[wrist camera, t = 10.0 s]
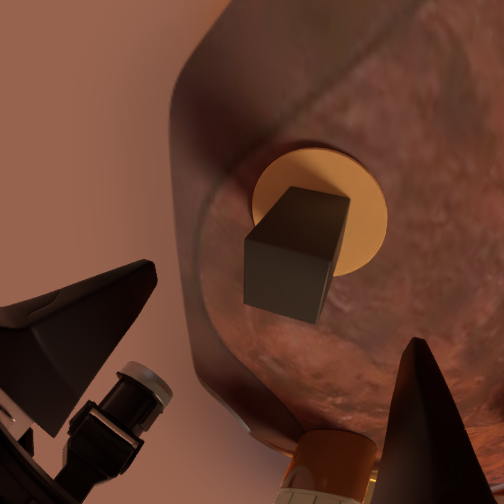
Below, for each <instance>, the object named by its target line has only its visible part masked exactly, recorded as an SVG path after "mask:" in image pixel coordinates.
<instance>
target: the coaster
mask: <svg viewBox="0 0 504 504" xmlns="http://www.w3.org/2000/svg"><path fill="white" fill-rule="evenodd" d="M290 186H294V187H299V188H304V189H309V190H314V191H319V192H324V193H329V194H333V195H338V196H342V197H347V198H350V199H351V201H350V207H349V212H348V217H347V222H346V227H345V232H344V237H343V242H342V247H341V251H340V255H339V258H338V261H337V265H336V268H335V271H334V274H333V276H338V275H343V274H347V273H350V272H352V271H355V270H356V269H358V268H360V267H362V266H363V265H364V264H366V263H367V262H368V261H369V260H370V259H371V258H372V257H373V256H374V255H375V254H376V252H377V251H378V250H379V248H380V246H381V244H382V242H383V240H384V237H385V234H386V229H387V206H386V202H385V198H384V195H383V193H382V190H381V188H380V186H379V185H378V183H377V181H376V180H375V178H374V177H373V176H372V174H371V173H370V172H369V171H368V170H367V169H366V168H365V167H364V166H363V165H361V164H360V163H359V162H357V161H356V160H355V159H353V158H351V157H349V156H348V155H346V154H343V153H341V152H338V151H335V150H331V149H327V148H318V147H315V148H303V149H298V150H295V151H291V152H289V153H287V154H285V155H283V156H281V157H280V158H278V159H277V160H275V161H274V162H273V163H272V164H270V165H269V166H268V167H267V168H266V170H265V171H264V172H263V173H262V175H261V176H260V178H259V180H258V182H257V184H256V187H255V190H254V194H253V201H252V212H253V218H254V222H255V226H256V225H257V224H258V223H259V222H260V220H261V219H262V218H263V217H264V216H265V215H266V213H267V212H268V211H269V210H270V209H271V208H272V207H273V205H274V204H275V203H276V202H277V201H278V200H279V198H280V197H281V196H282V195H283V194H284V193H285V192H286V190H287V189H288V188H289V187H290Z"/></svg>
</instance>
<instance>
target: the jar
mask: <svg viewBox="0 0 504 504" xmlns="http://www.w3.org/2000/svg"><path fill="white" fill-rule="evenodd" d="M376 454H377V446H376V444H375V443H374V442H372V441H371V440H369V439H368V438H366V437H363V436H361V435H358V434H355V433H351V432H346V431H340V430H330V429H320V430H312V431H308V432H306V433H304V434H303V435H302V436H301V437H300V440H299V442H298V445H297V447H296V450H295V452H294V455H293V457H292V460H291V462H290V465H289V467H288V469H287V472H286V474H285V476H284V478H283V481H282V483H281V485H280V487H279V492H278V494H277V495H276V498H275V500H274V502H273V504H363V502H364V499H365V495H366V492H367V489H368V485H369V481H370V478H371V474H372V470H373V466H374V462H375V458H376Z"/></svg>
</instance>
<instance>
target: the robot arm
mask: <svg viewBox="0 0 504 504" xmlns="http://www.w3.org/2000/svg"><path fill="white" fill-rule="evenodd" d="M157 281H158V279H157V274H156V269H155V264H154V263H153V262H152V261H149V260H146V259H142V260H139V261H136V262H133V263H130V264H128V265H125V266H122V267H119V268H116V269H114V270H111V271H108V272H105V273H102V274H99V275H96V276H94V277H91V278H88V279H86V280H83V281H80V282H77V283H75V284H72V285H69V286H66V287H64V288H61V289H58V290H55V291H53V292H50V293H47V294H44V295H41V296H38V297H35V298H32V299H29V300H25V301H22V302H19V303H15V304H12V305H9V306H5V307H0V504H82V503H83V501H84V500H85V498H86V497H87V495H88V494H89V492H90V491H91V489H92V488H93V487H95V486H98V485H100V484H104V483H106V482H108V481H110V480H112V479H114V478H115V477H117V476H118V474H120V475H122V474H123V473H124V472H125V471H126V470H127V469H128V468H129V466H130V465H131V463H132V462H133V460H134V459H135V457H136V455H137V454H138V452H139V450H140V449H141V447H142V446H143V444H144V440H142V439H140V438H139V436H140V435H141V434H142V432H143V431H145V432H146V431H148V430H149V428H150V427H151V425H152V424H153V423H154V421H155V420H156V418H157V417H158V416H159V414H162V413H163V410H162V408H161V406H160V404H159V402H158V399H157V397H156V395H155V393H154V392H153V391H152V390H150V389H148V388H146V387H145V386H143V385H141V384H139V383H137V382H136V381H134V380H132V379H130V378H129V377H127V376H125V375H124V374H122V373H120V372H117V373H116V375H117V377H118V378H119V381H118V382H117V383H116V384H115V386H114V387H113V388H112V389H111V390H110V392H109V393H108V394H107V395H106V396H105V398H104V399H103V400H102V401H101V402H100V404H99V405H96V403H95V402H94V401H93V402H92V401H90V400H88V401H87V402H86V404H85V405H84V406H83V407H82V408H81V409H80V410H79V411H78V412H77V413H76V415H75V416H74V417H73V418H72V419H71V420H70V421H69V425H70V427H69V431H68V432H67V434H68V435H69V436H71V437H70V438H69V439H68V441H67V442H66V444H65V446H64V448H63V468H62V470H61V471H60V472H59V473H58V475H57V476H56V477H55V479H54V480H53V479H52V478H51V477H50V476H49V475H48V474H47V473H46V472H45V471H44V470H43V469H42V468H41V467H40V466H39V465H38V464H37V463H36V462H35V461H34V460H33V459H32V457H33V456H34V444H33V429H32V428H31V427H30V426H31V425H32V424H33V422H35V423H37V424H38V425H39V426H40V427H41V428H42V429H43V430H45V431H46V432H47V433H48V434H49V435H50V436H51V437H53V438H55V437H56V435H57V434H58V432H59V431H60V429H61V428H62V426H63V424H64V423H65V421H66V419H67V418H68V417H69V415H70V413H71V412H72V410H73V409H74V407H75V406H76V404H77V403H78V401H79V400H80V398H81V397H82V395H83V394H84V392H85V391H86V389H87V388H88V386H89V385H90V383H91V382H92V380H93V379H94V377H95V376H96V375H97V373H98V371H99V370H100V369H101V367H102V366H103V364H104V363H105V362H106V360H107V359H108V357H109V356H110V354H111V353H112V352H113V350H114V348H115V347H116V346H117V345H118V343H119V342H120V340H121V339H122V338H123V336H124V335H125V333H126V332H127V331H128V329H129V328H130V327H131V325H132V324H133V322H134V321H135V320H136V318H137V317H138V315H139V314H140V312H141V310H142V309H143V307H144V305H145V304H146V302H147V300H148V299H149V297H150V295H151V294H152V292H153V290H154V289H155V287H156V285H157ZM91 412H94V413H95V414H96V415H97V416H98V417H100V418H101V419H102V420H103V421H104V422H106V423H107V424H108V425H110V426H111V427H112V428H113V429H115V430H116V431H117V432H118V433H120V434H121V435H122V436H124V437H125V438H126V439H128V440H129V441H130V442H132V443H133V444H130V443H129V442H127V441H126V440H125V439H123V438H122V437H120V436H119V435H118V434H117V433H115V432H114V431H113V430H112V429H110V428H109V427H108V426H106V425H105V424H104V423H102V421H100V420H99V419H98V418H97V417H95V416H93V415H92V414H91ZM464 429H465V427H464V424H463V421H462V419H461V416H460V414H459V412H458V409H457V407H456V404H455V402H454V400H453V397H452V395H451V393H450V391H449V388H448V386H447V384H446V382H445V379H444V377H443V375H442V373H441V371H440V369H439V367H438V364H437V362H436V360H435V358H434V356H433V354H432V352H431V350H430V348H429V346H428V344H427V342H426V341H425V340H424V339H421V338H417V337H413V338H412V339H411V340H410V342H409V344H408V346H407V347H406V349H405V351H404V352H403V354H402V357H401V360H400V365H399V370H398V375H397V379H396V384H395V388H394V392H393V396H392V401H391V406H390V413H389V419H388V426H387V432H386V437H385V443H384V448H383V453H382V458H381V462H380V467H379V471H378V476H377V480H376V484H375V488H374V492H373V496H372V499H371V503H370V504H498V503H497V502H496V500H495V498H494V496H493V494H492V491H491V489H490V487H489V484H488V482H487V480H486V477H485V475H484V473H483V471H482V468H481V466H480V464H479V462H478V459H477V457H476V455H475V452H474V450H473V447H472V445H471V442H470V440H469V437H468V434H467V432H466V430H464Z"/></svg>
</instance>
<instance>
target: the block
mask: <svg viewBox="0 0 504 504" xmlns="http://www.w3.org/2000/svg"><path fill="white" fill-rule="evenodd" d="M350 201H351V199H350V198H347V197H342V196H338V195H333V194H329V193H324V192H319V191H314V190H309V189H304V188H299V187H294V186H290V187H289V188H288V189H287V190H286V192H285V193H284V194H283V195H282V196H281V197H280V198H279V200H278V201H277V202H276V203H275V204H274V205H273V207H272V208H271V209H270V210H269V211H268V212H267V213H266V215H265V216H264V217H263V218H262V219H261V220H260V222H259V223H258V224H257V225H256V226H255V227H254V228H253V230H252V231H251V232H250V233H249V234H248V235H247V237H246V238H245V239H244V304H247V305H250V306H253V307H256V308H260V309H263V310H266V311H269V312H273V313H276V314H279V315H283V316H286V317H290V318H293V319H297V320H300V321H304V322H307V323H311V324H314V325H316V324H317V323H318V320H319V318H320V315H321V312H322V309H323V306H324V303H325V300H326V297H327V293H328V290H329V287H330V284H331V281H332V278H333V274H334V271H335V268H336V265H337V261H338V258H339V255H340V251H341V247H342V242H343V237H344V232H345V227H346V222H347V217H348V212H349V207H350Z"/></svg>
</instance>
